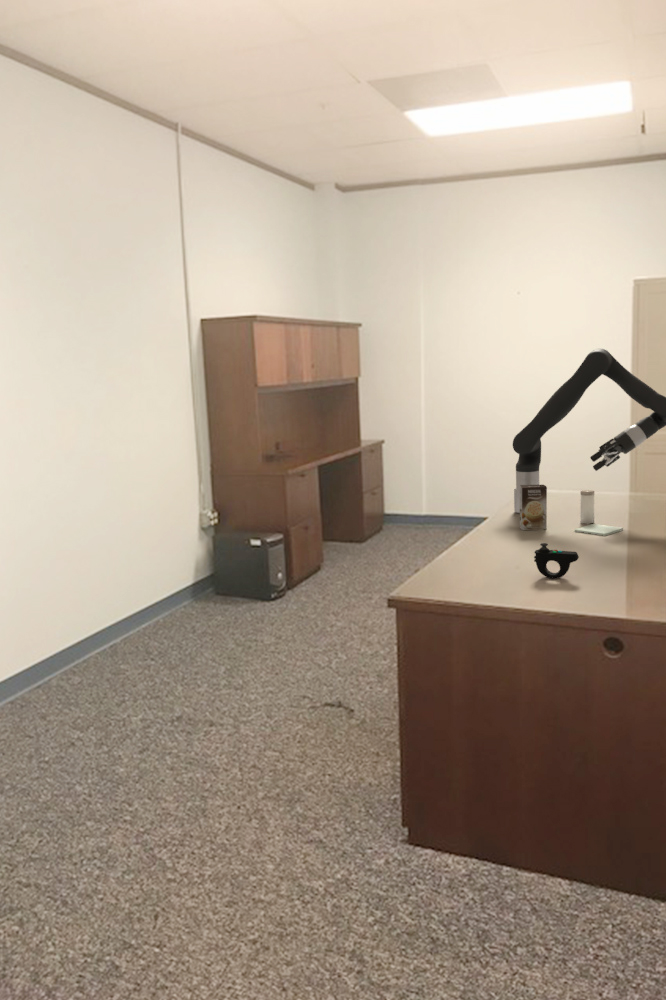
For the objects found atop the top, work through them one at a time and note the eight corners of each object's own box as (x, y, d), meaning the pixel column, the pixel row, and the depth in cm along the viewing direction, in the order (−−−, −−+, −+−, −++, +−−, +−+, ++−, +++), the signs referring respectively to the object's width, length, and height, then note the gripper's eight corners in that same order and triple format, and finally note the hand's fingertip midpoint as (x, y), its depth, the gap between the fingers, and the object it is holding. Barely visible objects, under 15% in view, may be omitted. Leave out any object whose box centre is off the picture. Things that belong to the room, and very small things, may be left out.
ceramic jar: (577, 522, 300) (577, 491, 298) (585, 520, 304) (585, 489, 302) (589, 524, 297) (589, 492, 295) (596, 522, 300) (597, 490, 298)
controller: (536, 574, 234) (535, 541, 232) (579, 577, 228) (579, 543, 227) (533, 578, 230) (532, 544, 228) (577, 581, 224) (577, 547, 223)
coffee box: (521, 530, 293) (521, 487, 290) (519, 527, 299) (518, 484, 296) (547, 529, 292) (546, 486, 289) (544, 526, 298) (544, 483, 295)
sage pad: (574, 531, 286) (574, 529, 286) (593, 525, 294) (593, 523, 294) (604, 535, 277) (604, 533, 277) (623, 529, 285) (623, 527, 285)
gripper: (635, 437, 287) (597, 463, 289) (637, 453, 299) (601, 478, 301) (622, 423, 291) (584, 449, 293) (625, 440, 303) (589, 464, 305)
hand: (593, 464), depth 297 cm, fingers open, 8 cm apart
